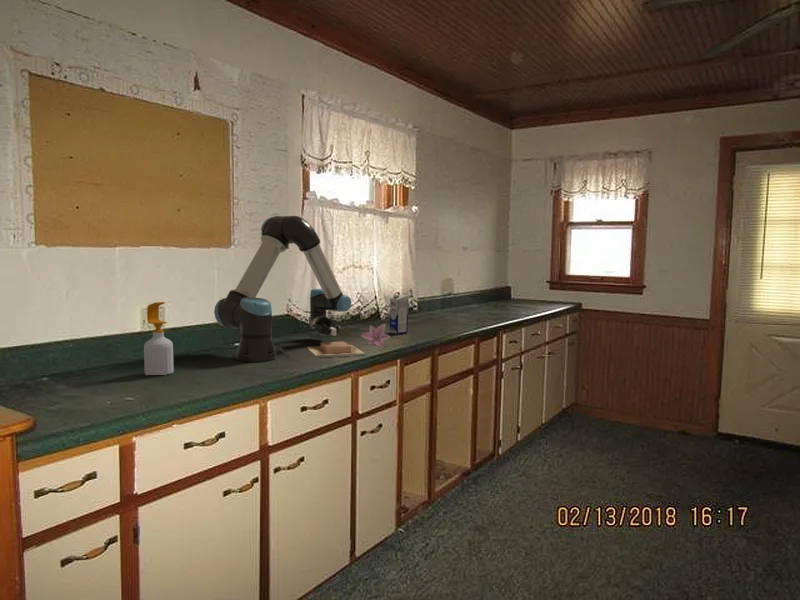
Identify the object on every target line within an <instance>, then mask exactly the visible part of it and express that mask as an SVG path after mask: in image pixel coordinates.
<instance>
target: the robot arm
mask: <svg viewBox="0 0 800 600" xmlns="http://www.w3.org/2000/svg"><path fill="white" fill-rule="evenodd" d="M260 231H261V232H260V235H261V237H260V241H261V243H260V245H259V247H258V249H257V251H256V253H255V255H254V256H253V258H252V260H251V261H250V263H249V264H248V267H247V268H246V270H245V272H244V273H243V275H242V276H241V277H242V278H240V280H239V282H238V284H237V286H236V288H235V289H231V290H230V291H229V292H228V294H227V295H226V297H224V298H221V299H219V300H218V301H217V302H216V304H215V307H214V309H213V313H214V318H215V320H216V322H217V323H218V324H219V325H220V326H222V327H225V328H227V329H237V330H240V341H239V344H238V347H237V351H236V360H237V361H240V360H241V362H247V361H249V362H252V363H254V362H257V363H258V361H259V362H269V361H272V360H276V358H277V350H276V347H275V344H274V342H273V338H272V334H273V333H272V329H273V326H272V325H273V324H272V323H273V320H272V315H273V311H272V310H273V309H272V302H271V301H270V300H269V299H265V298H261V297H257V296H258V294H259V292H260V290H261V289H262V287H263V285H264V283H265V281H266V280H267V277H268V276H269V273H270V272H271V270H272V268H273V267H274V265H275V263H276V261H277V260H278V257H279V256H280V254H281V253H284V252H286V250H287V249H288V247H289V245H291V244H294V245H296V246H297V248H298V250H299V252H303V254H304V256H305V259H306V261H307V262H308V264H309V267H310V269H311V270H312V272H313V274H314V276H315V278H316V281H317V282H318V284H319V287H320V288H313V289H311V290H310V295H309V296H310V297H309V307H310V311H309V318H308V324H309V326H310V328H311V331H314V332H318V333H319V334H320V335H327V336H328V335H331V336H334V337H335V336H337V334H338V333H339V332H340V330H341V324H340V323H337V324H334V323H333V322H332V320H331V319H329V318H328V317H327V311H334V312H339V313H341V312H343V313H344V312H345V313H346V312H348V311H349V310H350V309H351V306H352V298H351V297H350V296H348V295H346V294H343V293H344V292H343V291H342V290H341V289H342V288H341V287H340V285H339V283H338V281H337V279H336V276H335V274H334V272H333V270H332V269H331V266H330V264H329V262H328V260H327V257H326V255H325V254H324V251H323V249H322V247H321V245H320V244H321V240H320V237H319V235H318V234H317V232H316V230H315V229H314V227H313V226H312V225H311V224H310V223H309V222H308V220H306V219H304V218H303V217H301V216H297V215H283V216H281V215H275V216H270V217H268V218H266V219H265V220H264V221H263V223H262V224H261V228H260Z"/></svg>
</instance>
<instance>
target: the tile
mask: <svg viewBox="0 0 800 600" xmlns="http://www.w3.org/2000/svg"><path fill="white" fill-rule="evenodd" d="M350 345H351V344H348V342H345V341H325V342H320V346H321V349H322V350H323V351H324V352H326V353H327V354H332V353H350V352H351V346H350Z"/></svg>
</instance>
